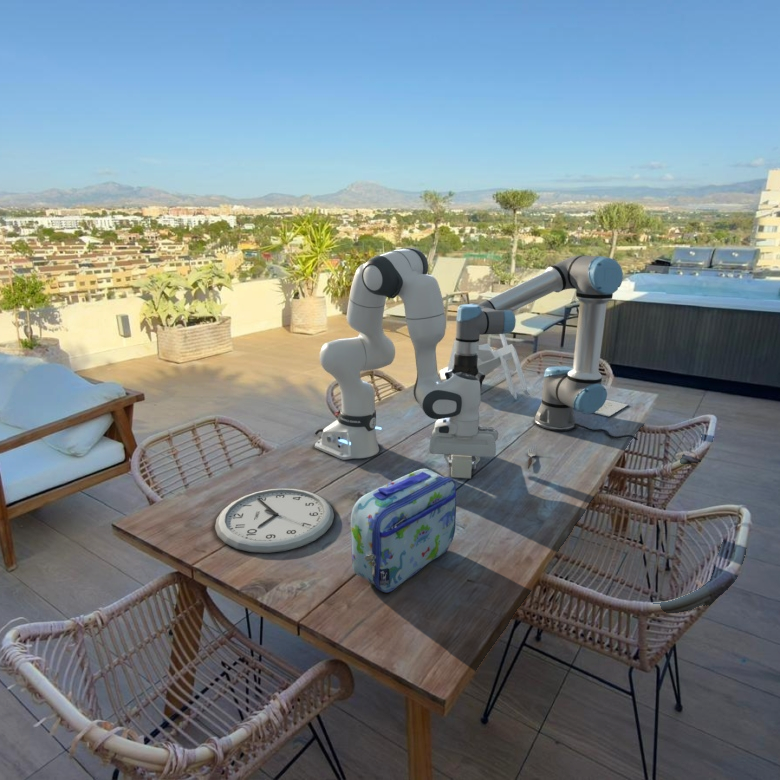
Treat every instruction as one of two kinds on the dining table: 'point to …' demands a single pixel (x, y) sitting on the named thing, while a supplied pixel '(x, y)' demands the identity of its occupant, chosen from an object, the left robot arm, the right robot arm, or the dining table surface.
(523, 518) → the dining table surface
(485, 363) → the white plastic object
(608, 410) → the invitation card
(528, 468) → the fork
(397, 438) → the dining table surface
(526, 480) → the dining table surface
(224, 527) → the wall clock
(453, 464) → the peg block
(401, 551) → the lunch box
